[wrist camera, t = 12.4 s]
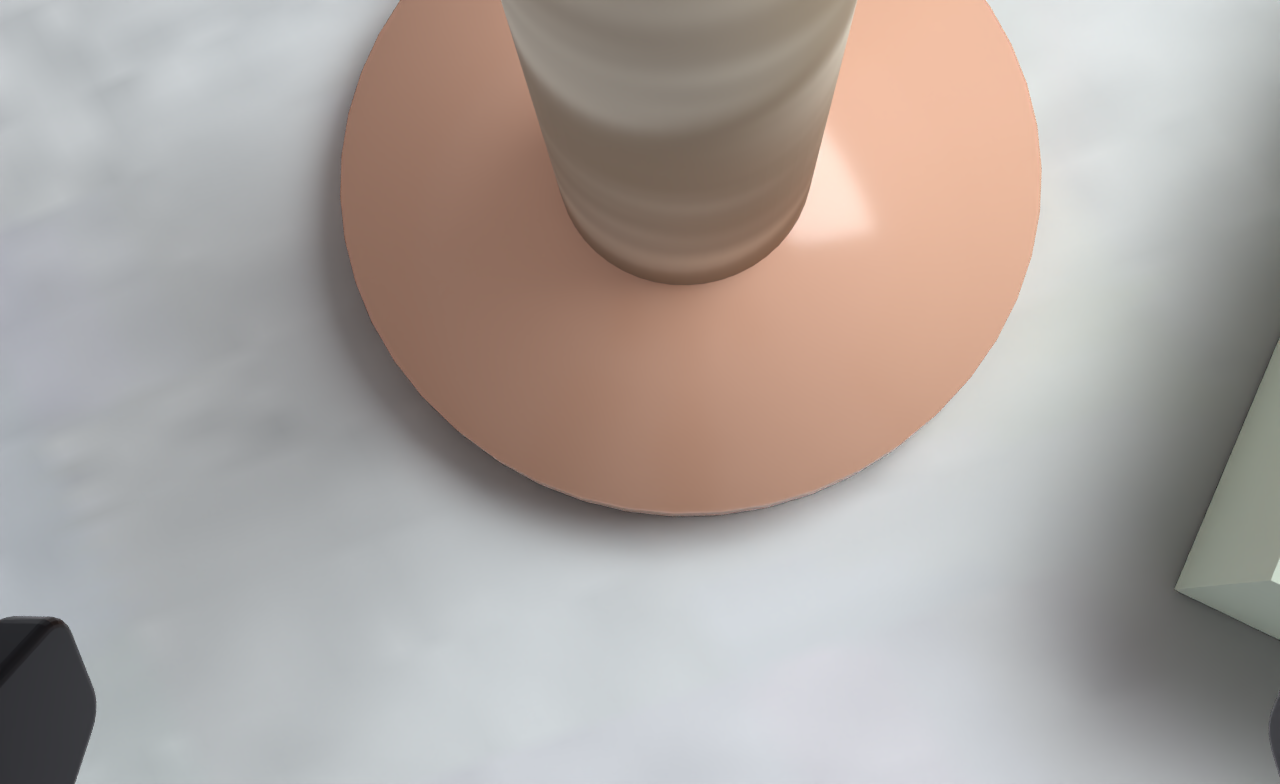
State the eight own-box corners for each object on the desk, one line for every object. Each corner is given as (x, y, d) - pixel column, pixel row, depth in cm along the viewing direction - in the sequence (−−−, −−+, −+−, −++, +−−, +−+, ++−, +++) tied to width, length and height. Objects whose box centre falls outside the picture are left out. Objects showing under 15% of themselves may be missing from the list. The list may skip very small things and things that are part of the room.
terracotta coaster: (475, 619, 18) (464, 618, 17) (275, 9, 20) (258, -16, 19) (1142, 371, 18) (1161, 359, 17) (870, -203, 20) (876, -236, 20)
